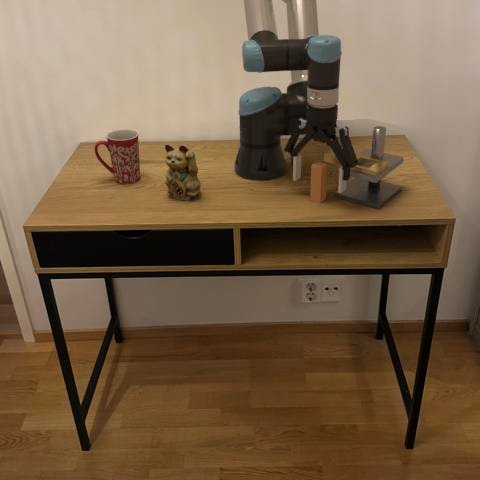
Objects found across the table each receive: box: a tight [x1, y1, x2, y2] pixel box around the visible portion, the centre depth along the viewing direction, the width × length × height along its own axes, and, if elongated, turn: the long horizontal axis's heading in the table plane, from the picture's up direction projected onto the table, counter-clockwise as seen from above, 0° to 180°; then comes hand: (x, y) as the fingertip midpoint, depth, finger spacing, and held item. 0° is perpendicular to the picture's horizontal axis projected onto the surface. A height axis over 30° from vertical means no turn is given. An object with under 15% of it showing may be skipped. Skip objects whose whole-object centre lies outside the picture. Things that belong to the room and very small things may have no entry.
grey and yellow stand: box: [323, 125, 405, 210], centre depth 154 cm, size 18×16×17 cm
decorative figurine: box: [164, 143, 201, 201], centre depth 156 cm, size 10×8×15 cm
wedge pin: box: [309, 161, 329, 204], centre depth 152 cm, size 3×3×10 cm
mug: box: [94, 128, 141, 185], centre depth 166 cm, size 13×9×14 cm
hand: (319, 184), depth 152 cm, fingers open, 13 cm apart
